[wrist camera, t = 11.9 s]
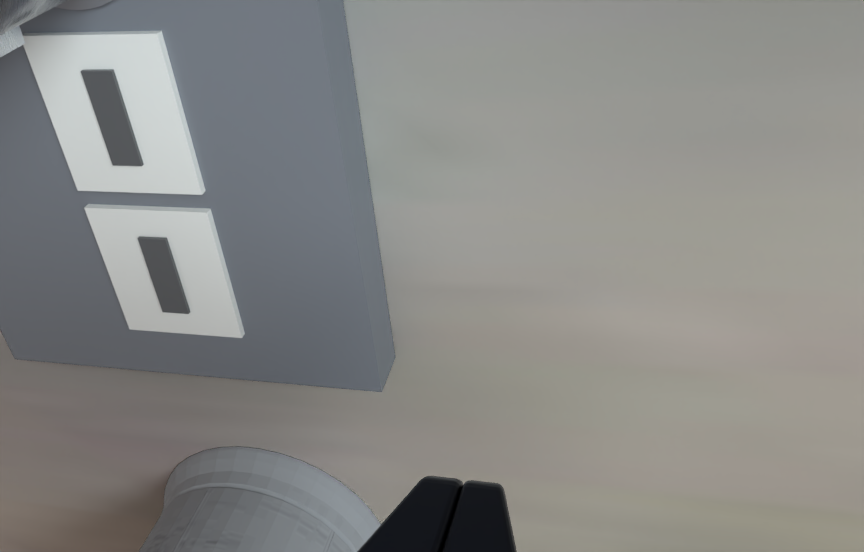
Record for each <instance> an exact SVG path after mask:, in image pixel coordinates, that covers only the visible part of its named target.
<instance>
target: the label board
mask: <svg viewBox="0 0 864 552" xmlns="http://www.w3.org/2000/svg"><path fill="white" fill-rule="evenodd" d="M19 26H20V29H21V32H22V35H23V38H24V41H25V44H24V45H22V46H20V47H18V48H16V49H14V50H13V51H11V52H9V53H7V54H5V55H4V56H2V57H0V330H1V332H2V334H3V336H4V338H5V340H6V342H7V344H8V346H9V348H10V350H11V352H12V354H13V356H14V358H15V359H19V360H30V361H41V362H52V363H63V364H74V365H86V366H97V367H108V368H119V369H130V370H141V371H152V372H164V373H175V374H186V375H197V376H208V377H219V378H230V379H242V380H253V381H264V382H275V383H286V384H297V385H308V386H320V387H331V388H342V389H353V390H364V391H375V392H382V390H383V388H384V385H385V383H386V380H387V378H388V375H389V372H390V370H391V367H392V365H393V362H394V360H395V351H394V344H393V338H392V331H391V324H390V317H389V310H388V304H387V297H386V290H385V283H384V276H383V270H382V263H381V256H380V249H379V242H378V235H377V229H376V222H375V215H374V208H373V201H372V195H371V188H370V181H369V174H368V167H367V161H366V154H365V147H364V140H363V133H362V127H361V120H360V113H359V106H358V99H357V93H356V86H355V79H354V72H353V65H352V59H351V52H350V45H349V38H348V31H347V25H346V18H345V11H344V4H343V0H67V1H65V2H63V3H61V4H60V5H58V6H56V7H54V8H52V9H50V10H48V11H46V12H44V13H42V14H40V15H38V16H36V17H35V18H33V19H31V20H29V21H27V22H25V23H23V24H21V25H19Z"/></svg>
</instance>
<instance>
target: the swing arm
mask: <svg viewBox="0 0 864 552" xmlns="http://www.w3.org/2000/svg"><path fill="white" fill-rule="evenodd" d="M65 1H67V0H0V57H2V56H4V55H5V54H7V53H9V52H11V51H13V50H14V49H16V48H18V47H20V46H22V45H24V44H25V41H24V38H23V35H22V32H21V29H20V26H19V25H21V24H23V23H25V22H27V21H29V20H31V19H33V18H35V17H36V16H38V15H40V14H42V13H44V12H46V11H48V10H50V9H52V8H54V7H56V6H58V5H60V4H61V3H63V2H65Z"/></svg>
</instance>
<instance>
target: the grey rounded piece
mask: <svg viewBox="0 0 864 552" xmlns="http://www.w3.org/2000/svg"><path fill="white" fill-rule="evenodd" d="M380 525H381V524H380V523H379V521H378V520H377V518H376V517H375V516H374V514H373V513H372V511H371V510H370V509H369V508H368V506H367V505H366V504H365V503H364V502H363V501H362V500H361V499H360V498H359V497H358V496H357V495H356V494H355V493H353V492H352V491H351V490H350V489H348V488H347V487H346V486H345V485H343V484H342V483H341V482H339V481H338V480H336V479H335V478H333V477H331V476H330V475H328V474H327V473H325V472H323V471H322V470H320V469H318V468H316V467H313V466H311V465H309V464H307V463H305V462H303V461H301V460H298V459H295V458H292V457H289V456H286V455H283V454H280V453H276V452H272V451H267V450H263V449H257V448H247V447H220V448H215V449H210V450H205V451H202V452H199V453H197V454H195V455H192V456H190V457H188V458H187V459H185V460H184V461H183V462H181V463H180V464H179V465H178V466H177V467H176V468H175V470H174V471H173V472H172V473H171V475H170V477H169V480H168V482H167V485H166V488H165V493H164V507H163V511H162V513H161V516H160V517H159V519H158V521H157V522H156V524H155V526H154V527H153V529H152V531H151V532H150V534H149V536H148V537H147V539H146V541H145V542H144V544H143V546H142V547H141V549H140V550H139V552H357V551H358V550H359V549H360V548H361V547H362V546H363V545H364V543H365V542H366V541H367V540H368V539H369V538H370V537H371V536H372V534H373V533H374V532H375V531H376V530H377V529H378V528H379V526H380Z"/></svg>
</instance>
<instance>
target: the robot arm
mask: <svg viewBox="0 0 864 552" xmlns="http://www.w3.org/2000/svg"><path fill="white" fill-rule="evenodd" d="M357 552H517V551H516V546H515V541H514V536H513V531H512V527H511V522H510V517H509V512H508V507H507V502H506V497H505V492H504V489H503V487H502V486H501V485H500V484H498V483H490V482H481V481H472V480H471V481H467V482H465V484H464V485H463V483H462V481H460V480H458V479H455V478H446V477H437V476H427V477H425V478H423V479H421V480H420V481H419V482H418V484H417V485H416V486H415V487H414V488H413V489H412V490H411V492H410V493H409V494H408V495H407V496H406V497H405V498H404V499H403V501H402V502H401V503H400V504H399V505H398V506H397V507H396V508H395V510H394V511H393V512H392V513H391V514H390V515H389V516H388V517H387V519H386V520H385V521H384V522H383V523H382V524H381V525H380V526H379V528H378V529H377V530H376V531H375V532H374V533H373V534H372V536H371V537H370V538H369V539H368V540H367V541H366V542H365V543H364V545H363V546H362V547H361V548H360V549H359V550H358V551H357Z"/></svg>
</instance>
